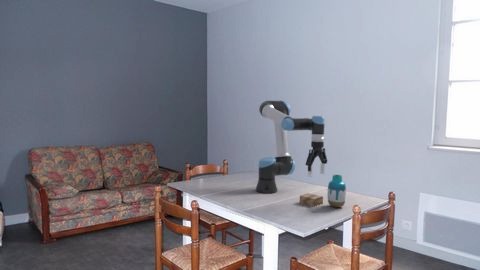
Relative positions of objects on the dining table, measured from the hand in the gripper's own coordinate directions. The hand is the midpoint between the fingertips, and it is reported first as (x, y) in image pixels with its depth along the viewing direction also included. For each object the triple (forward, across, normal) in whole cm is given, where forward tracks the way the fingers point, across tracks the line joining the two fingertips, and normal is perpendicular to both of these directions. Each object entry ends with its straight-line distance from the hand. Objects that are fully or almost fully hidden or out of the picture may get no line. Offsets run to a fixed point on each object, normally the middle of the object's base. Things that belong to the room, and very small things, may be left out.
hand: (316, 175), depth 223 cm
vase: (+18, +3, -13) cm, 22 cm away
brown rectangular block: (+18, -2, +1) cm, 18 cm away
